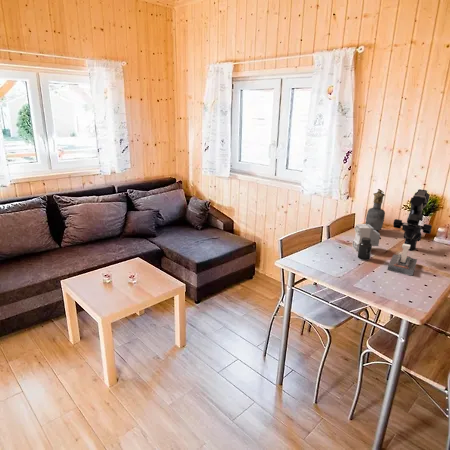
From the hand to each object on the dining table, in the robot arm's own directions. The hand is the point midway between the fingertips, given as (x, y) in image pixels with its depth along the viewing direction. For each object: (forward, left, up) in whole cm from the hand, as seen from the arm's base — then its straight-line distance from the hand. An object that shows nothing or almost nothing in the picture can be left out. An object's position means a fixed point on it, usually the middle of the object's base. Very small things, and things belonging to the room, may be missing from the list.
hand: (408, 239), depth 191 cm
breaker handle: (+7, +5, -10) cm, 13 cm away
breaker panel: (+7, +5, -14) cm, 16 cm away
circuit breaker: (+7, -22, -14) cm, 27 cm away
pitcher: (-23, -47, -14) cm, 54 cm away
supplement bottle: (+18, -12, -14) cm, 26 cm away
